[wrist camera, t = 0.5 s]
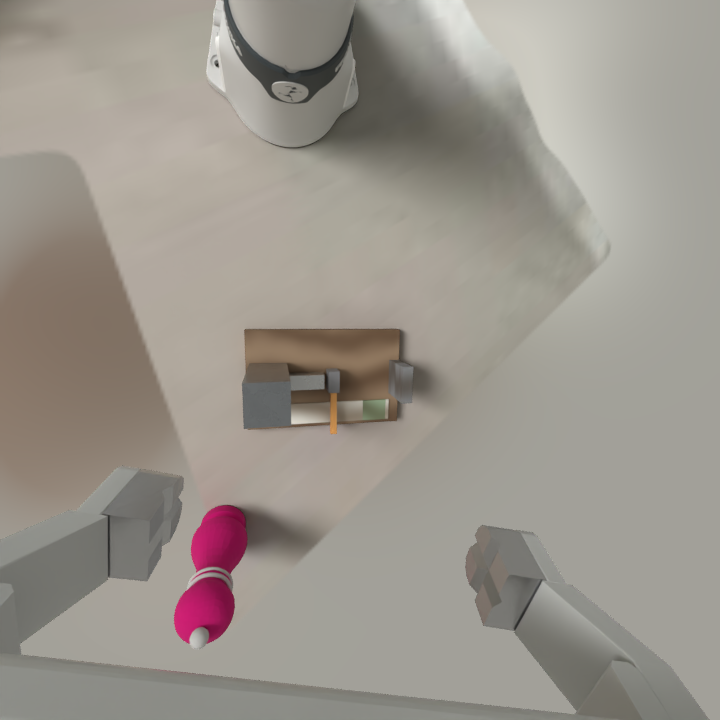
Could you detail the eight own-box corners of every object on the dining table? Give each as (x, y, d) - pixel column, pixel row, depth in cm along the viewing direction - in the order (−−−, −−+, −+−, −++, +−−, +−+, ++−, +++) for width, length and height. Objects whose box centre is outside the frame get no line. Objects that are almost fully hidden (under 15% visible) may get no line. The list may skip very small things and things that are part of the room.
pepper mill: (250, 500, 55) (237, 608, 36) (248, 544, 56) (235, 672, 37) (198, 502, 54) (156, 617, 34) (197, 548, 55) (156, 684, 35)
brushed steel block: (249, 363, 50) (242, 383, 39) (322, 361, 52) (336, 380, 41) (250, 399, 51) (243, 428, 39) (322, 395, 53) (336, 423, 42)
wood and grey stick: (326, 368, 53) (328, 371, 50) (336, 368, 53) (339, 371, 51) (326, 428, 54) (328, 434, 52) (336, 428, 55) (339, 433, 52)
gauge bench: (245, 329, 51) (240, 334, 44) (396, 328, 56) (414, 333, 49) (248, 426, 53) (244, 446, 46) (393, 417, 58) (410, 434, 51)
